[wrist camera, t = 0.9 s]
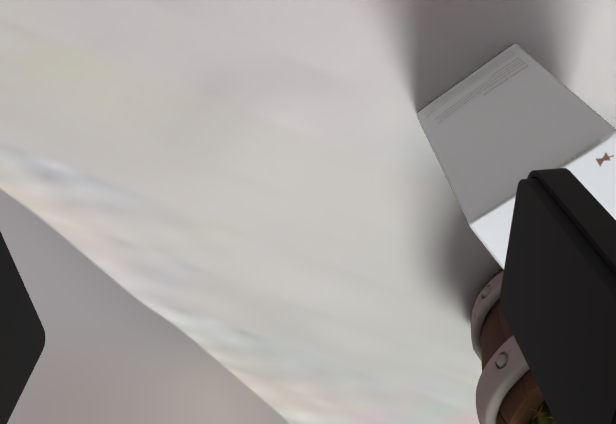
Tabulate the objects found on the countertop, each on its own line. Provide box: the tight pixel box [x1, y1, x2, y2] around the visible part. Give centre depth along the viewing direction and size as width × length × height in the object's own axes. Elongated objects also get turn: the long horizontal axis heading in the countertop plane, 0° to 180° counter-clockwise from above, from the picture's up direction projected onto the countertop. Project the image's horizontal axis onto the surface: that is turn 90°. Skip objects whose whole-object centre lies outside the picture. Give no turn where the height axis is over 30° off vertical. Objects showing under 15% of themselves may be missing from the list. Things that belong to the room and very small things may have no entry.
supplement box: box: [417, 44, 616, 269], centre depth 30 cm, size 7×7×13 cm
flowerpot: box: [471, 269, 556, 424], centre depth 36 cm, size 14×15×20 cm
